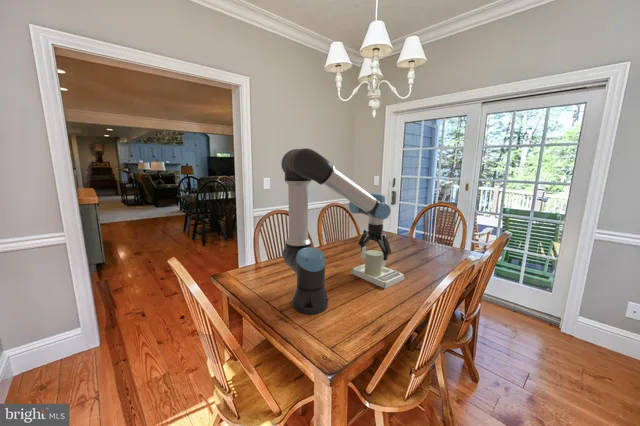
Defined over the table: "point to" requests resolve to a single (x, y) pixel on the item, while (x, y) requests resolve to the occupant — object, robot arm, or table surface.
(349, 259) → the table surface
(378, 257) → the can
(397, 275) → the rack
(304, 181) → the robot arm
